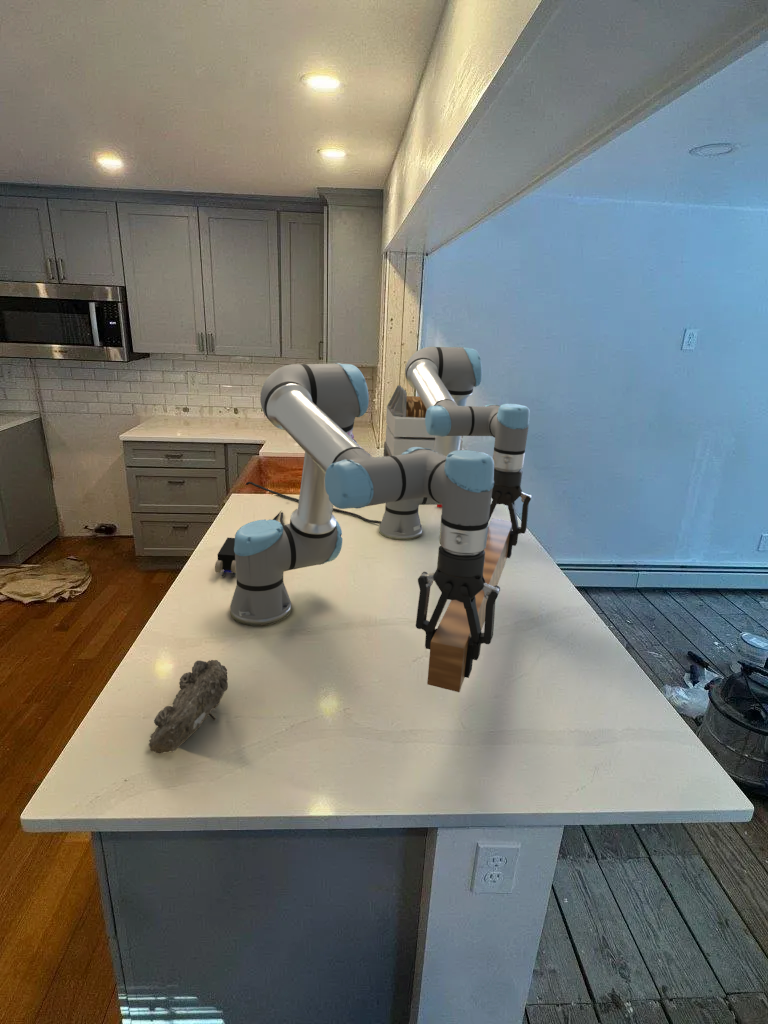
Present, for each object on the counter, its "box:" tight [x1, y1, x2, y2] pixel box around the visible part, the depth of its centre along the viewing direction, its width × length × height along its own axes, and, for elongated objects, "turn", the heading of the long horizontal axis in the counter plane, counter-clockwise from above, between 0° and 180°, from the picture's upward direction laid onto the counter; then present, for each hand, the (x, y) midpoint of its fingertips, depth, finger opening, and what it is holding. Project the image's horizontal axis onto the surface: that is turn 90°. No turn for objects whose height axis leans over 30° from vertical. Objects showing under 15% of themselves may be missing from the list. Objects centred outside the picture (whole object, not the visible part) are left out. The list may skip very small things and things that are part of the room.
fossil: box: [148, 659, 229, 754], centre depth 106 cm, size 22×10×15 cm
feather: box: [272, 510, 283, 521], centre depth 212 cm, size 2×28×2 cm
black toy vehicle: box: [214, 537, 236, 578], centre depth 166 cm, size 7×8×15 cm
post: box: [426, 517, 513, 693], centre depth 122 cm, size 64×6×8 cm, turn 161°
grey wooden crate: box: [383, 384, 464, 457], centre depth 268 cm, size 34×33×41 cm
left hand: (450, 668), depth 99 cm, fingers closed on post, 6 cm apart
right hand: (496, 553), depth 148 cm, fingers closed on post, 6 cm apart
